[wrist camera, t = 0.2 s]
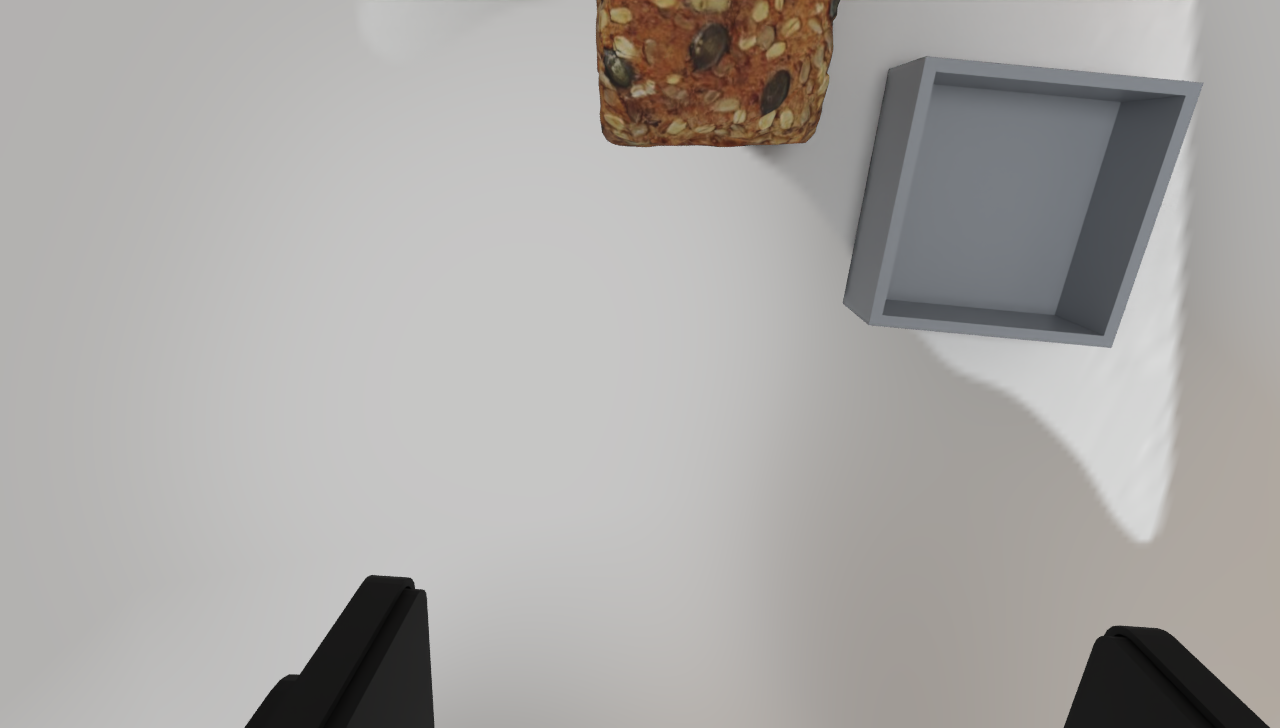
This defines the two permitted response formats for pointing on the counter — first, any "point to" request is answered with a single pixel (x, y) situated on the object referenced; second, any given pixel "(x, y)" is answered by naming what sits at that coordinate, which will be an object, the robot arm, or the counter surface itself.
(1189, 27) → the counter surface
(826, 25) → the bread
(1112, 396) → the counter surface
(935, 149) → the bin
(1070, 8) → the counter surface
